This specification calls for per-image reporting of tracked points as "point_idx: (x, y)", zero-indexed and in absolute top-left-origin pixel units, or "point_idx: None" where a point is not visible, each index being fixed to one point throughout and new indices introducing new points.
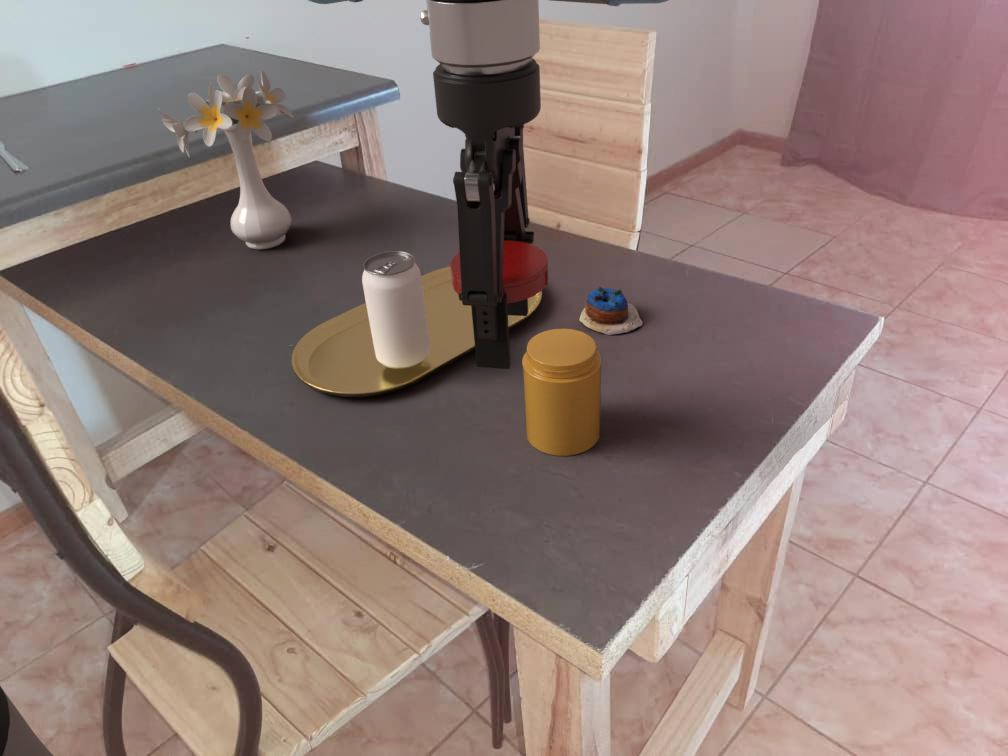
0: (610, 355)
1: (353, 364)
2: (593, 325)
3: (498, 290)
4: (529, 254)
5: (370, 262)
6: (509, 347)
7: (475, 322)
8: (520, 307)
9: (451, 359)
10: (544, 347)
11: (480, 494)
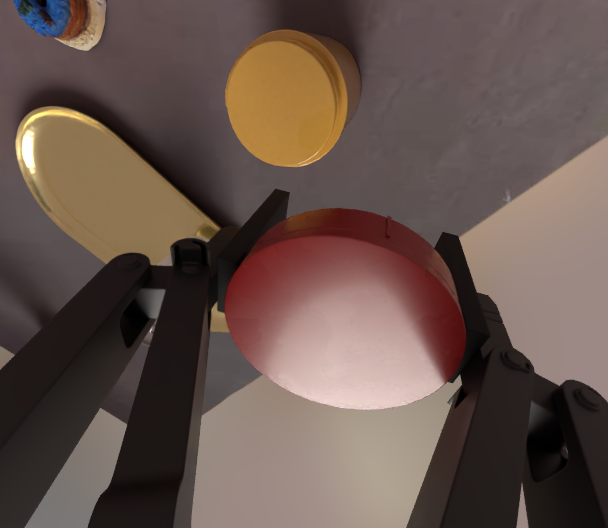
0: (152, 3)
1: None
2: (96, 28)
3: (533, 383)
4: (305, 276)
5: (144, 339)
6: (449, 250)
7: None
8: (283, 208)
9: (206, 215)
10: (282, 139)
11: (406, 189)
